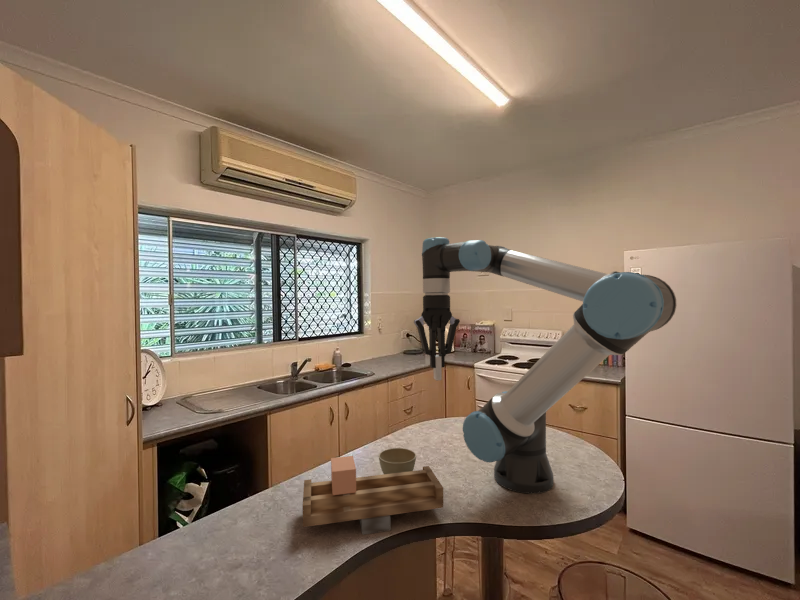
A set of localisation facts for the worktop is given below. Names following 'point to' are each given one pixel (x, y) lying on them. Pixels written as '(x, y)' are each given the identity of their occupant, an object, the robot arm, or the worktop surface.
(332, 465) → the block
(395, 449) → the flower pot
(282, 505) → the worktop surface
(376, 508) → the wooden crate
